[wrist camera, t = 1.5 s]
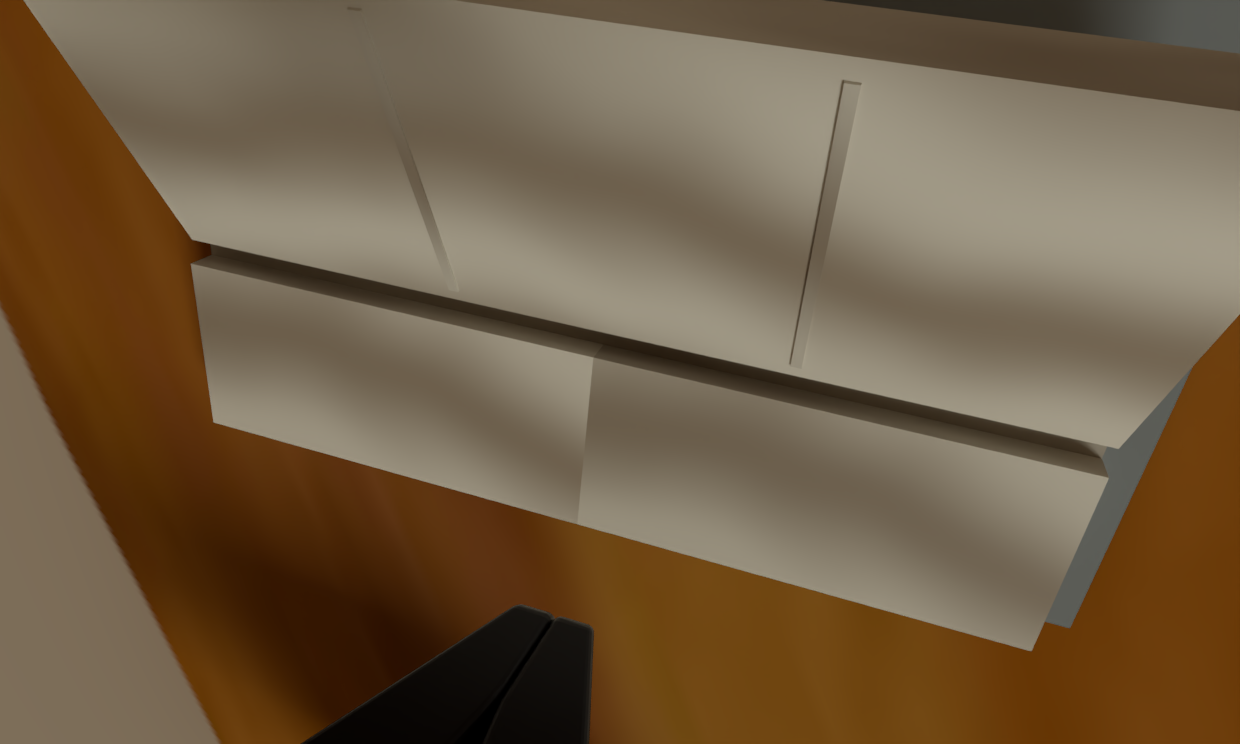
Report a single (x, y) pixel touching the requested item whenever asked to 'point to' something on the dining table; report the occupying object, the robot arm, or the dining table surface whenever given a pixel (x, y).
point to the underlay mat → (1129, 9)
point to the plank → (718, 178)
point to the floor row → (656, 443)
